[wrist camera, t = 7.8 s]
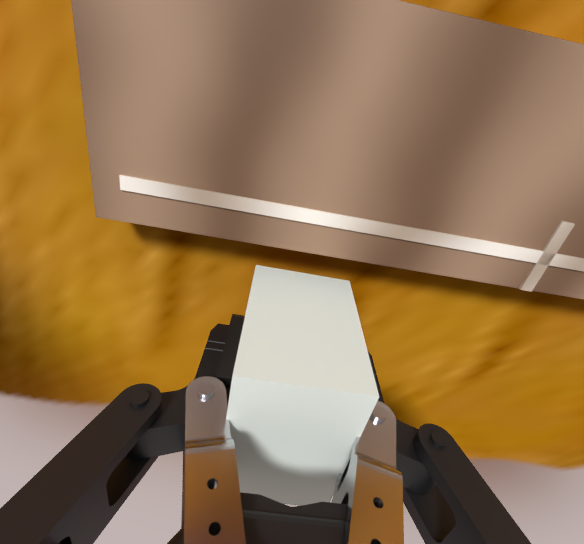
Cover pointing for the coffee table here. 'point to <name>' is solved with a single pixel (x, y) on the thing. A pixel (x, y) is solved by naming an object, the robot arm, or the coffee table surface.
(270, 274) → the block
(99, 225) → the coffee table surface
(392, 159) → the bronze metal plate
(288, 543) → the robot arm
